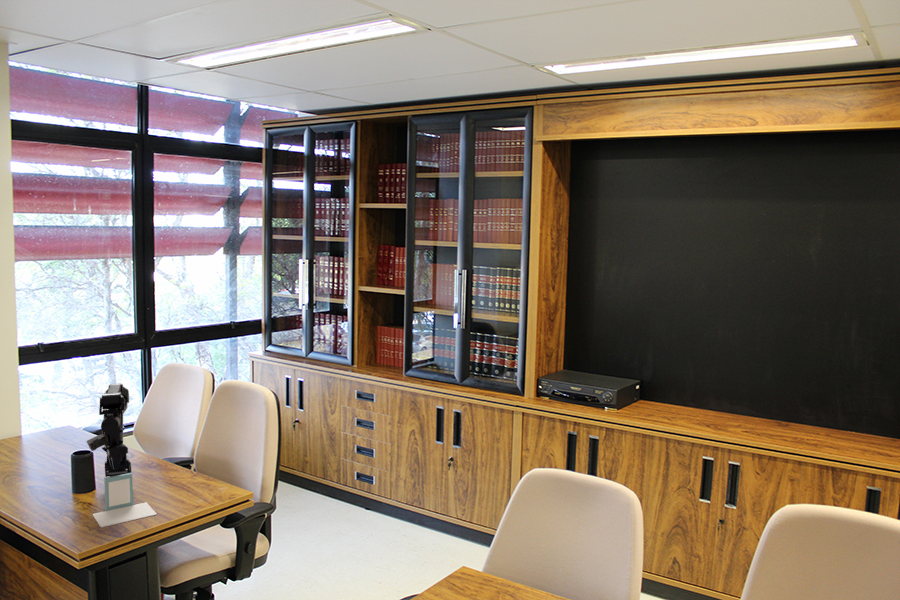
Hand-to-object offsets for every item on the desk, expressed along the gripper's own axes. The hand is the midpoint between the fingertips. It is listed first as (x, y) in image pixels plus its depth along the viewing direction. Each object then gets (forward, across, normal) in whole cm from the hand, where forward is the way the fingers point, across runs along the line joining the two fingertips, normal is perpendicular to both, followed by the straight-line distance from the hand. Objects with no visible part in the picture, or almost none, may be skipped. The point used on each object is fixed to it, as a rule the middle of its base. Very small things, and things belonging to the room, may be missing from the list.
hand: (114, 467), depth 247 cm
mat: (+13, +15, 0) cm, 20 cm away
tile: (+13, +7, 0) cm, 15 cm away
